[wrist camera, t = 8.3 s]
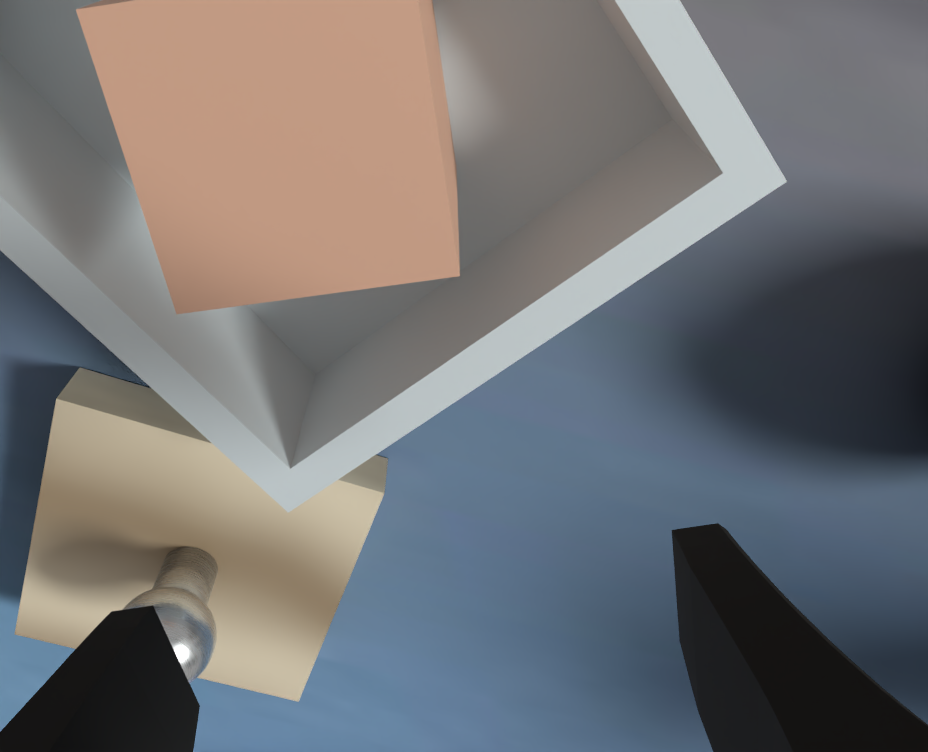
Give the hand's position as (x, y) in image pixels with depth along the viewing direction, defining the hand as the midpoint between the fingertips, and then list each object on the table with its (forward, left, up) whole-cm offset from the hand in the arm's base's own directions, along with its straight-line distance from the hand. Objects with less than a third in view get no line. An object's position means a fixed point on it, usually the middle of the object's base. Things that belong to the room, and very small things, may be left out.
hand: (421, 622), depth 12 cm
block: (+2, +6, -10) cm, 11 cm away
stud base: (-9, -1, -10) cm, 14 cm away
